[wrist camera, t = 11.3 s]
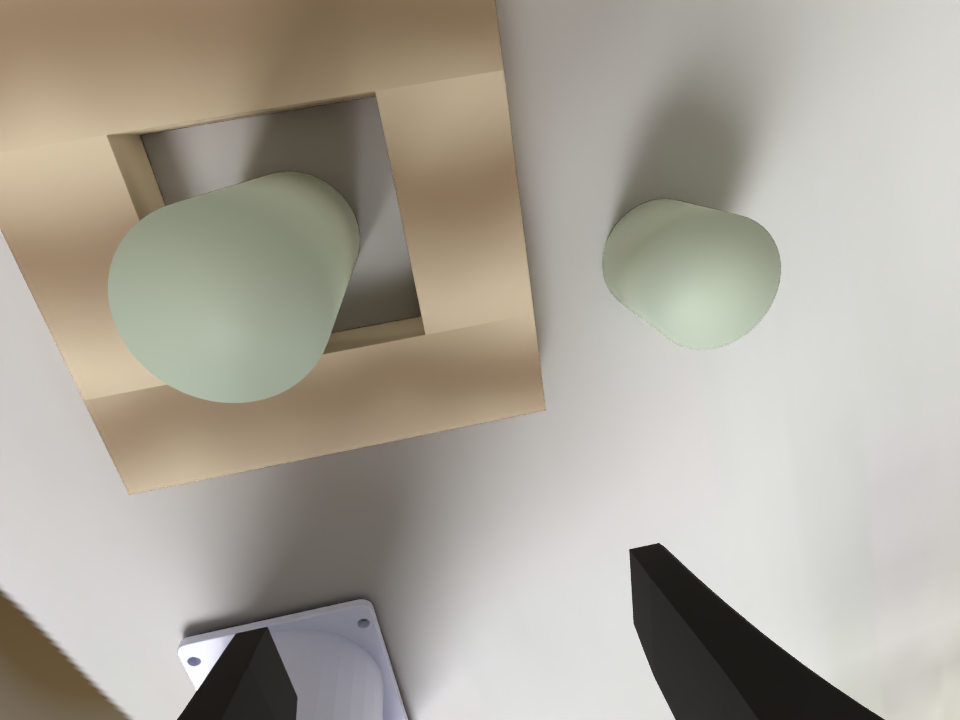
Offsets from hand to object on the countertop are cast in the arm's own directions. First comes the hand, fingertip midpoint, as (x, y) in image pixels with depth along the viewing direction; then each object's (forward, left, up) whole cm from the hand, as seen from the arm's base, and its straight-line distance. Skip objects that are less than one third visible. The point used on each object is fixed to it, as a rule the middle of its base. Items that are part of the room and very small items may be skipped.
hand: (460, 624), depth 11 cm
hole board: (+7, +3, -10) cm, 13 cm away
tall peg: (+6, +3, -10) cm, 13 cm away
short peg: (+4, -9, -11) cm, 14 cm away
